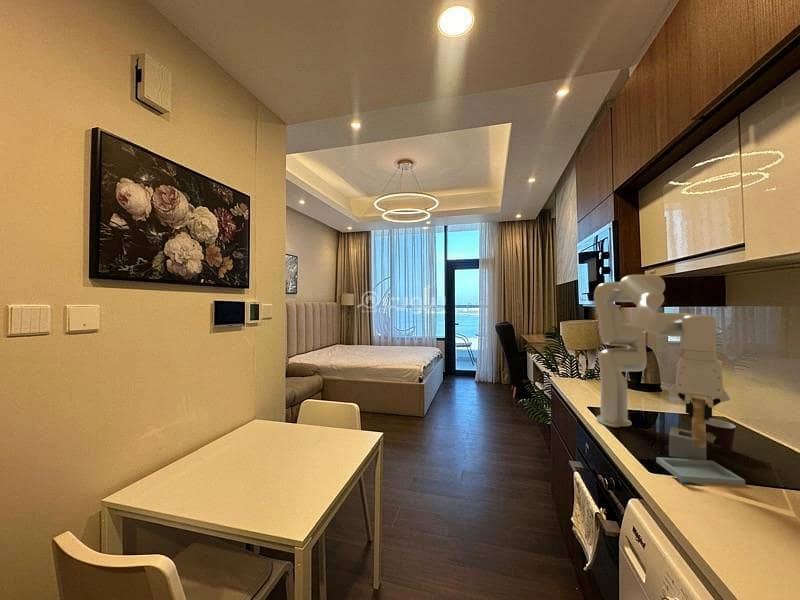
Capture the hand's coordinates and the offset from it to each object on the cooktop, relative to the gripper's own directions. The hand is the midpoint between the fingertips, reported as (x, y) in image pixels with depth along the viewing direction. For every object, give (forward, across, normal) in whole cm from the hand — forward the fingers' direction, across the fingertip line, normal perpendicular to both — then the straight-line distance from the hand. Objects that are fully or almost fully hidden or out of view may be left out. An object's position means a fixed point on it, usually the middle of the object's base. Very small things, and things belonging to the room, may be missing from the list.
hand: (698, 417), depth 96 cm
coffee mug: (+18, +4, +27) cm, 33 cm away
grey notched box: (+18, -3, +12) cm, 22 cm away
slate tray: (+18, 0, 0) cm, 18 cm away
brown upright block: (+9, +1, 0) cm, 9 cm away
